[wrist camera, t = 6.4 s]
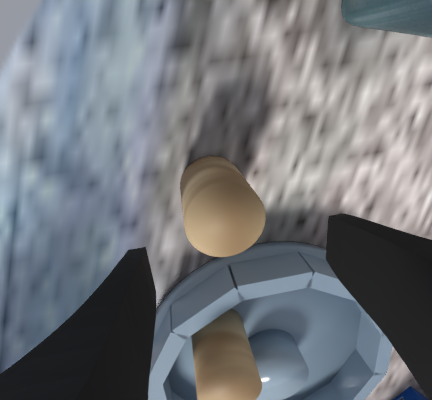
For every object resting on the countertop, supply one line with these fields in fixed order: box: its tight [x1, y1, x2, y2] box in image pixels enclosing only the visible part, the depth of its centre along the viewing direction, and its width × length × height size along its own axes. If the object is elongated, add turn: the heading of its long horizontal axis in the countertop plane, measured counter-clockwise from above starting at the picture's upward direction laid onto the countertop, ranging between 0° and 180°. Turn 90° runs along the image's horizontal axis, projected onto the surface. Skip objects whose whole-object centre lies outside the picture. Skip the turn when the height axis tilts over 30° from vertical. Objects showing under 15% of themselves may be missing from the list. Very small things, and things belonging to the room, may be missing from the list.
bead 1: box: [180, 156, 266, 257], centre depth 16 cm, size 4×4×5 cm
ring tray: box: [148, 242, 393, 400], centre depth 23 cm, size 20×20×4 cm
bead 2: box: [191, 308, 262, 400], centre depth 19 cm, size 4×4×5 cm
